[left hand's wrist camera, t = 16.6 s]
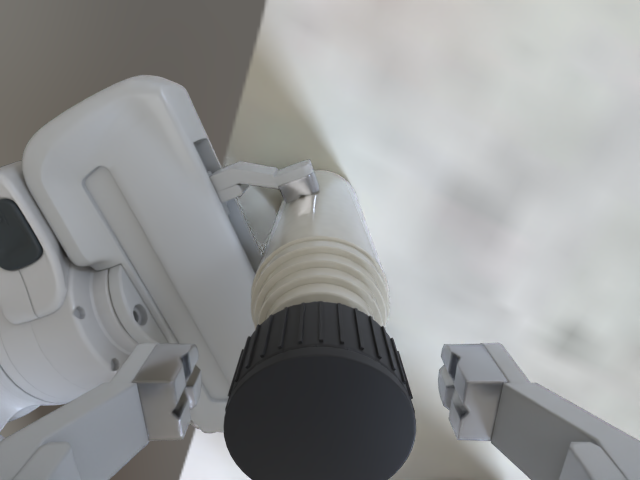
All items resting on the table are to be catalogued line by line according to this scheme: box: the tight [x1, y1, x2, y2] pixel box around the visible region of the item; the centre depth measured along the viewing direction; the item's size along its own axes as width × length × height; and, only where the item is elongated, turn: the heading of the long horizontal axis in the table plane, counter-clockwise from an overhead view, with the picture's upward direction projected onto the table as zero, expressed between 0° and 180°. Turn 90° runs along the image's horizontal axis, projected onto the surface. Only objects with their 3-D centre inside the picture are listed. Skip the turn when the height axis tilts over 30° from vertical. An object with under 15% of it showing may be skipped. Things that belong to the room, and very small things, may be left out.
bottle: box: [251, 170, 390, 330], centre depth 17 cm, size 5×5×18 cm
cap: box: [223, 301, 416, 480], centre depth 9 cm, size 4×4×2 cm
